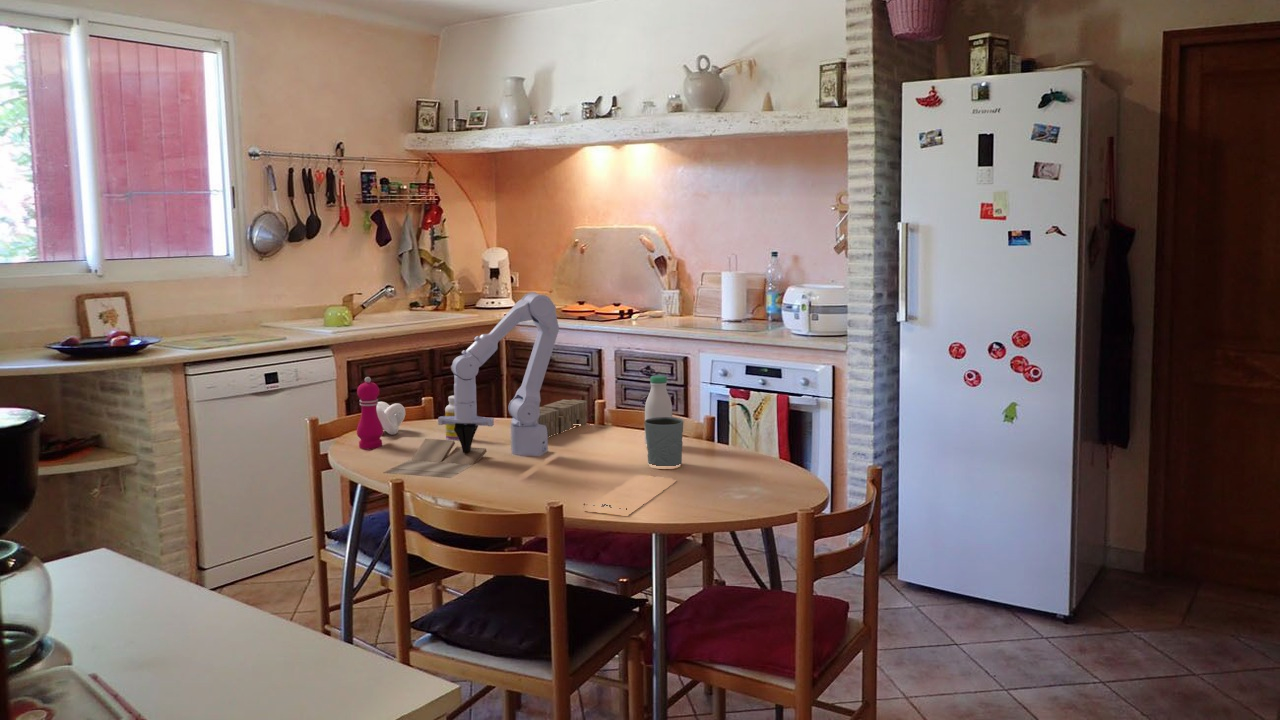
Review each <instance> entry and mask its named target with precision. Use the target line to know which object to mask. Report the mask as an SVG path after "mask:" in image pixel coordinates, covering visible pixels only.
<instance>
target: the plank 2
mask: <svg viewBox="0 0 1280 720" xmlns="http://www.w3.org/2000/svg"><path fill="white" fill-rule="evenodd" d="M450 452H451V453H450ZM450 452H449V454H448V455H447V457H446V459H445V460H444V461H442V462H441V463H454V464H467V465H474V464H476V463H477V462H478V463H479V461H480V460H481V459H482V457H484V456H485V454H486V453H487V448H485V447H484V448H483V447H473V446H471V450H470V452H469V453H463V450H462V446H458V445H457V446H456V447H455V448H454V449H453V450H452V451H450Z"/></svg>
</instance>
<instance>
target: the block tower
mask: <svg viewBox="0 0 1280 720" xmlns="http://www.w3.org/2000/svg"><path fill="white" fill-rule="evenodd" d="M587 409H588V401H587V400H581V399H561V400H557V401H555V402H551V403H548V404H544V405H543V406H539V410H540V416H539V418H538V424H540V425H545V426H546V428H547V435H548V437H549V436H551V435H554V434H557V433H559V432H563V431H565V430H569V429H570V428H573V427H574V426H576V427H577V426H579V425H573V424H581V425H582V426H585V425H587V422H588V421H587V419H588V416H587V414H588V413H587V412H588V410H587ZM569 431H570V430H569ZM563 433H564V432H563ZM559 434H560V433H559Z"/></svg>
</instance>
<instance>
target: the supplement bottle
mask: <svg viewBox="0 0 1280 720" xmlns="http://www.w3.org/2000/svg"><path fill="white" fill-rule="evenodd" d="M447 399H448V405H446V407H445V408H444V411H445V413H444V416H455V404H454V394H453V395H448V398H447ZM454 428H455V425H445V440H453V441H459V442H460V440H459V438H458V436H457V434H456V432H455V431H454Z"/></svg>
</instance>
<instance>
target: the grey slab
mask: <svg viewBox="0 0 1280 720" xmlns="http://www.w3.org/2000/svg"><path fill="white" fill-rule="evenodd" d="M473 466H474V464H472V465H469V464H456V463H442V462H429V461H415V460H412V459H408V460H406V461H404V462H402V463H400V464H398V465H395V466H394V467H392V468H390V469H388V470H385V471H383V474H392V475H393V474H395V475H408V476H409V475H410V476H422V477H434V478H446V479H451V478H453V477H454V476H456V475H458V474H460V473H462V472H464V471H465V470H468V468H471V467H473Z"/></svg>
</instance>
